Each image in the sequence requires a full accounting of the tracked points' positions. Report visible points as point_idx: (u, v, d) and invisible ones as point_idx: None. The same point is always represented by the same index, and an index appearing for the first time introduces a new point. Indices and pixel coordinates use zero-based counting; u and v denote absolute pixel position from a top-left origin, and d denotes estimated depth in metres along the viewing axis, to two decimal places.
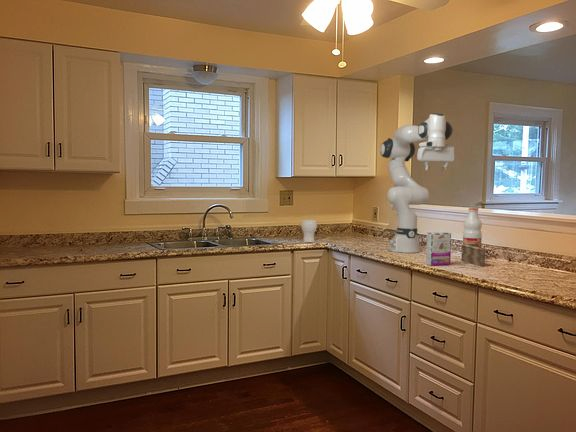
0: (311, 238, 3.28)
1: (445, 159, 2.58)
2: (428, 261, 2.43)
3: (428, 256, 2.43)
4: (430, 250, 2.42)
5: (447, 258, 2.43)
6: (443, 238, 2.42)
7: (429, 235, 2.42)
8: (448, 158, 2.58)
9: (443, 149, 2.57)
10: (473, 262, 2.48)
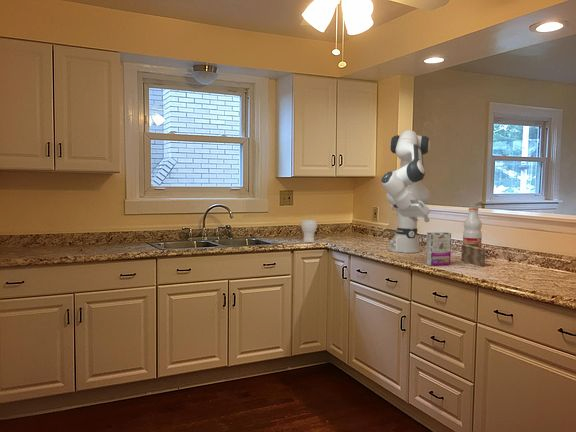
0: (311, 238, 3.28)
1: (418, 215, 2.35)
2: (428, 261, 2.43)
3: (428, 256, 2.43)
4: (430, 250, 2.42)
5: (447, 258, 2.43)
6: (443, 238, 2.42)
7: (429, 235, 2.42)
8: (420, 214, 2.33)
9: (410, 207, 2.35)
10: (473, 262, 2.48)
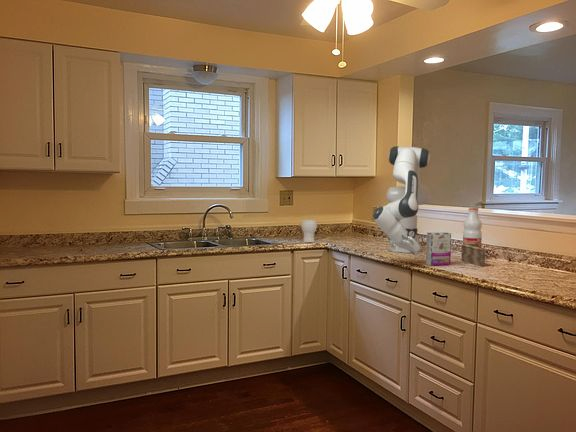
0: (311, 238, 3.28)
1: (410, 249, 2.36)
2: (428, 261, 2.43)
3: (428, 256, 2.43)
4: (430, 250, 2.42)
5: (447, 258, 2.43)
6: (443, 238, 2.42)
7: (429, 235, 2.42)
8: (411, 250, 2.34)
9: (402, 242, 2.36)
10: (473, 262, 2.48)
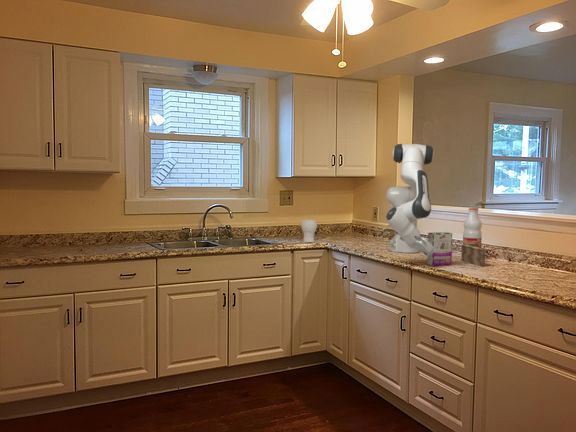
0: (311, 238, 3.28)
1: (423, 250, 2.38)
2: (429, 261, 2.44)
3: (429, 256, 2.43)
4: None
5: (448, 258, 2.44)
6: (444, 238, 2.42)
7: (430, 235, 2.42)
8: (424, 250, 2.36)
9: (415, 242, 2.38)
10: (473, 262, 2.48)
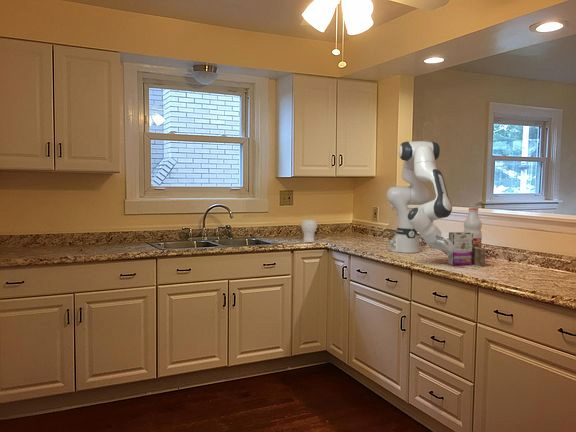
0: (311, 238, 3.28)
1: (444, 250, 2.40)
2: (450, 260, 2.46)
3: (450, 255, 2.46)
4: None
5: (469, 258, 2.45)
6: (465, 238, 2.44)
7: (451, 234, 2.45)
8: (446, 250, 2.38)
9: (436, 242, 2.40)
10: (473, 262, 2.48)
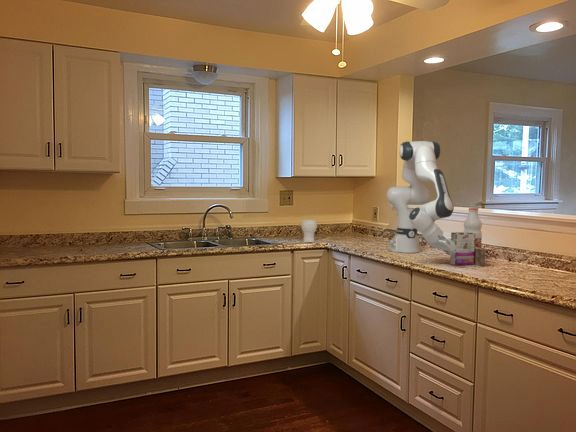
0: (311, 238, 3.28)
1: (446, 250, 2.40)
2: (452, 260, 2.46)
3: (452, 256, 2.46)
4: None
5: (471, 258, 2.46)
6: (467, 238, 2.44)
7: (453, 235, 2.45)
8: (447, 250, 2.38)
9: (438, 242, 2.41)
10: None
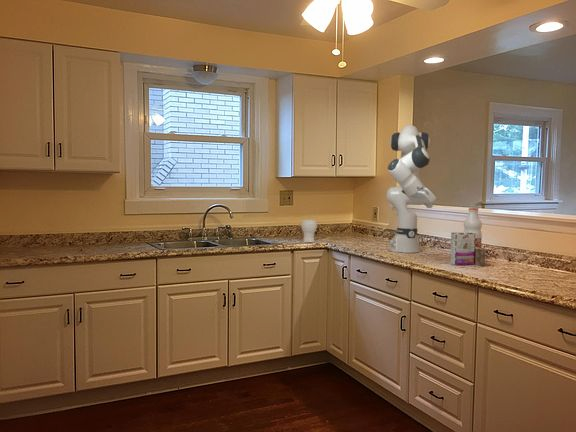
0: (311, 238, 3.28)
1: (425, 201, 2.36)
2: (452, 260, 2.46)
3: (452, 256, 2.46)
4: (454, 250, 2.44)
5: (471, 258, 2.46)
6: (467, 238, 2.44)
7: (453, 235, 2.45)
8: (426, 201, 2.34)
9: (417, 194, 2.36)
10: None
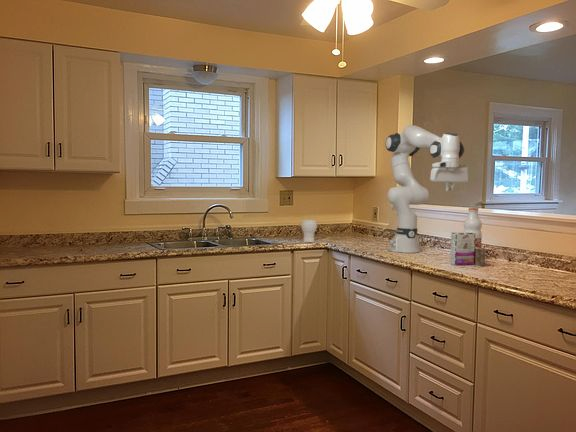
0: (311, 238, 3.28)
1: (459, 180, 2.52)
2: (452, 260, 2.46)
3: (452, 256, 2.46)
4: (454, 250, 2.44)
5: (471, 258, 2.46)
6: (467, 238, 2.44)
7: (453, 235, 2.45)
8: (462, 179, 2.53)
9: (457, 170, 2.52)
10: None
